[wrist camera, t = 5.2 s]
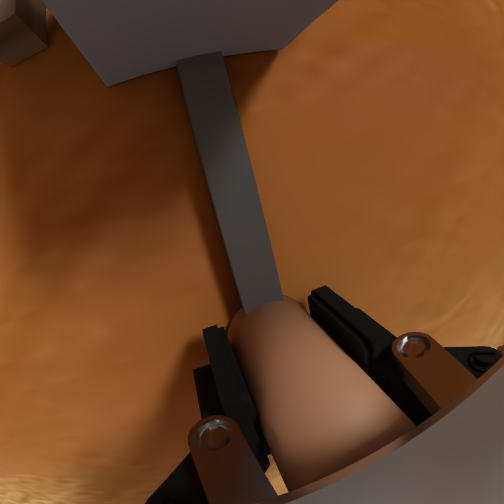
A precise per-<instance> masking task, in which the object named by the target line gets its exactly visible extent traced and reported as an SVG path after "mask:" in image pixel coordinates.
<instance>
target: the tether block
mask: <svg viewBox="0 0 504 504" xmlns="http://www.w3.org/2000/svg"><path fill="white" fill-rule="evenodd" d="M42 1H43V3H44V4H45V5H46V7H47V8H48V10H49V11H50V12H51V14H52V15H53V16H54V18H55V19H56V20H57V22H58V23H59V24H60V26H61V27H62V28H63V30H64V31H65V32H66V34H67V35H68V36H69V38H70V39H71V40H72V42H73V43H74V44H75V46H76V47H77V48H78V50H79V51H80V52H81V54H82V55H83V56H84V57H85V59H86V60H87V61H88V63H89V64H90V65H91V67H92V68H93V69H94V71H95V72H96V73H97V75H98V76H99V77H100V79H101V80H102V81H103V82H104V84H105V85H106V86H107V87H109V86H112V85H115V84H118V83H120V82H123V81H126V80H130V79H133V78H136V77H139V76H142V75H146V74H149V73H153V72H156V71H160V70H164V69H167V68H171V67H175V66H176V68H177V72H178V76H179V80H180V84H181V88H182V92H183V96H184V100H185V104H186V108H187V112H188V116H189V120H190V124H191V127H192V131H193V135H194V139H195V143H196V147H197V150H198V154H199V158H200V162H201V165H202V169H203V173H204V176H205V180H206V184H207V187H208V191H209V195H210V198H211V202H212V206H213V209H214V213H215V216H216V220H217V223H218V227H219V230H220V234H221V238H222V241H223V245H224V248H225V251H226V255H227V258H228V262H229V265H230V269H231V272H232V276H233V279H234V282H235V286H236V289H237V292H238V296H239V299H240V302H241V306H242V307H241V308H240V309H239V310H238V312H237V313H236V314H235V315H234V317H233V319H232V321H231V323H230V325H229V328H228V336H227V337H228V340H229V342H230V345H231V348H232V350H233V353H234V356H235V358H236V361H237V363H238V366H239V369H240V371H241V374H242V376H243V379H244V381H245V384H246V386H247V389H248V391H249V394H250V397H251V399H252V402H253V404H254V407H255V409H256V412H257V414H258V417H259V420H260V425H261V429H262V432H263V434H264V437H265V439H266V442H267V444H268V446H269V449H270V451H271V453H272V456H273V458H274V460H275V463H276V465H277V467H278V469H279V472H280V474H281V476H282V478H283V481H284V483H285V485H286V487H287V489H288V492H290V491H293V490H296V489H298V488H301V487H303V486H306V485H308V484H311V483H313V482H315V481H318V480H320V479H322V478H324V477H327V476H329V475H331V474H333V473H335V472H337V471H340V470H342V469H344V468H346V467H348V466H350V465H352V464H354V463H356V462H358V461H359V460H361V459H363V458H365V457H367V456H369V455H371V454H372V453H374V452H376V451H378V450H379V449H381V448H383V447H385V446H386V445H388V444H390V443H391V442H393V441H395V440H396V439H398V438H399V437H401V436H403V435H404V434H406V433H407V432H409V431H410V430H412V429H413V428H415V427H416V425H415V424H414V423H413V422H412V421H411V420H410V419H409V418H408V417H407V415H406V414H405V413H404V412H403V411H402V410H401V409H400V408H399V407H398V406H397V405H396V404H395V403H394V402H393V401H392V400H391V399H390V398H389V397H388V396H387V395H386V394H385V393H384V392H383V391H382V390H381V388H380V387H379V386H378V385H377V384H376V383H375V382H374V381H373V380H372V379H371V378H370V377H369V376H368V375H367V374H366V373H365V372H364V371H363V370H362V369H361V368H360V367H359V366H358V365H357V364H356V362H355V361H354V360H353V359H352V358H351V357H350V356H349V355H348V354H347V353H346V352H345V351H344V350H343V349H342V348H341V347H340V346H339V345H338V344H337V343H336V342H335V341H334V340H333V339H332V338H331V336H330V335H329V334H328V333H327V332H326V331H325V330H324V329H323V328H322V327H321V326H320V325H319V324H318V323H317V322H316V321H315V320H314V319H313V318H312V317H311V316H310V315H309V314H308V312H307V311H306V310H305V309H304V308H303V307H302V306H301V305H300V304H299V303H298V302H297V301H295V300H294V299H292V298H290V297H288V296H284V295H282V291H281V287H280V282H279V278H278V274H277V269H276V265H275V261H274V257H273V252H272V248H271V244H270V240H269V235H268V231H267V227H266V223H265V219H264V215H263V211H262V207H261V202H260V198H259V194H258V190H257V186H256V182H255V178H254V174H253V170H252V166H251V162H250V158H249V154H248V150H247V146H246V143H245V139H244V135H243V131H242V127H241V123H240V119H239V115H238V112H237V108H236V104H235V100H234V96H233V93H232V89H231V85H230V81H229V78H228V74H227V70H226V67H225V63H224V59H223V56H229V55H236V54H242V53H250V52H258V51H267V50H277V49H283V48H284V47H285V46H286V45H288V44H289V43H290V42H291V41H292V40H293V39H294V38H295V37H296V36H297V35H298V34H299V33H301V32H302V31H303V30H304V29H305V28H306V27H307V26H308V25H310V24H311V23H312V22H313V21H314V20H315V19H317V18H318V17H319V16H320V15H321V14H322V13H324V12H325V11H326V10H327V9H328V8H330V7H331V6H332V5H333V4H335V3H336V2H337V1H338V0H42Z"/></svg>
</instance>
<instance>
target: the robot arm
mask: <svg viewBox="0 0 504 504" xmlns="http://www.w3.org/2000/svg"><path fill="white" fill-rule="evenodd" d="M308 304H309V309H310V315H311V317H312V318H313V319H314V320H315V321H316V322H317V323H318V324H319V325H320V326H321V327H322V328H323V329H324V330H325V331H326V332H327V333H328V334H329V335H330V336H331V338H332V339H333V340H334V341H335V342H336V343H337V344H338V345H339V346H340V347H341V348H342V349H343V350H344V351H345V352H346V353H347V354H348V355H349V356H350V357H351V358H352V359H353V360H354V361H355V362H356V364H357V365H358V366H359V367H360V368H361V369H362V370H363V371H364V372H365V373H366V374H367V375H368V376H369V377H370V378H371V379H372V380H373V381H374V382H375V383H376V384H377V385H378V386H379V387H380V388H381V390H382V391H383V392H384V393H385V394H386V395H387V396H388V397H389V398H390V399H391V400H392V401H393V402H394V403H395V404H396V405H397V406H398V407H399V408H400V409H401V410H402V411H403V412H404V413H405V414H406V415H407V417H408V418H409V419H410V420H411V421H412V422H413V423H414V424H415V425H416V427H415V428H413V429H412V430H410V431H409V432H407V433H406V434H404V435H403V436H401V437H399V438H398V439H396V440H395V441H393V442H391V443H390V444H388V445H386V446H385V447H383V448H381V449H379V450H378V451H376V452H374V453H372V454H371V455H369V456H367V457H365V458H363V459H361V460H359V461H358V462H356V463H354V464H352V465H350V466H348V467H346V468H344V469H342V470H340V471H337V472H335V473H333V474H331V475H329V476H327V477H324V478H322V479H320V480H318V481H315V482H313V483H311V484H308V485H306V486H303V487H301V488H298V489H296V490H293V491H290V492H288V493H285V494H282V495H279V496H278V495H277V493H276V492H275V490H274V489H273V487H272V485H271V484H270V482H269V480H268V478H267V477H266V475H265V472H266V471H267V469H268V468H269V466H270V462H269V459H268V457H267V455H269V454H272V453H271V451H270V449H269V446H268V444H267V442H266V439H265V437H264V434H263V432H262V429H261V425H260V420H259V417H258V414H257V412H256V409H255V407H254V404H253V402H252V399H251V397H250V394H249V391H248V389H247V386H246V384H245V381H244V379H243V376H242V374H241V371H240V369H239V366H238V363H237V361H236V358H235V356H234V353H233V350H232V348H231V345H230V342H229V340H228V337H227V334H226V332H225V329H224V327H221V328H218V327H217V325H214V326H211V327H208V328H205V329H202V330H203V335H204V339H205V343H206V347H207V351H208V355H209V360H210V364H209V365H206V366H203V367H200V368H197V369H194V370H193V372H194V379H195V385H196V390H197V396H198V401H199V407H200V412H201V417H202V420H200V421H199V422H197V423H196V424H195V425H194V426H193V427H192V428H191V430H190V431H189V434H188V445H189V448H190V451H191V452H190V453H189V454H188V455H187V456H186V458H185V459H184V460H183V461H182V462H181V463H180V464H179V466H178V467H177V468H176V469H175V470H174V471H173V472H172V473H171V475H170V476H169V477H168V478H167V479H166V480H165V481H164V482H163V483H162V484H161V486H160V487H159V488H158V489H157V490H156V491H155V492H154V493H153V494H152V495H151V496H150V497H149V498H148V500H147V501H146V503H145V504H504V345H503V346H500V347H498V348H497V350H496V349H494V348H491V347H486V346H477V347H442V346H441V345H440V344H439V343H438V342H436V341H435V340H434V339H433V338H432V337H431V336H429V335H427V334H425V333H422V332H409V333H406V334H402V335H401V336H399V337H395V336H394V335H393V334H392V333H390V332H389V331H388V330H386V329H385V328H384V327H382V326H381V325H380V324H379V323H377V322H376V321H375V320H373V319H372V318H371V317H369V316H368V315H367V314H366V313H364V312H363V311H362V310H360V309H358V308H354V307H353V306H352V305H351V304H349V303H348V302H347V301H345V300H344V299H343V298H341V297H340V296H339V295H338V294H336V293H335V292H334V291H332V290H331V289H330V288H328V287H327V286H323V287H320V288H317V289H315V290H312V291H311V295H310V296H308Z"/></svg>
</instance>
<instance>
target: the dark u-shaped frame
mask: <svg viewBox="0 0 504 504" xmlns="http://www.w3.org/2000/svg"><path fill="white" fill-rule="evenodd" d="M46 48H48V40H47V26H46V5H45V4H44V3H43V1H42V0H0V61H2V62H3V63H5V64H7V65H8V66H10V67H13V66H15V65H16V64H18V63H20V62H22V61H23V60H25V59H27V58H29V57H31V56H33V55H34V54H36V53H38V52H40V51H42V50H44V49H46Z"/></svg>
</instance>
